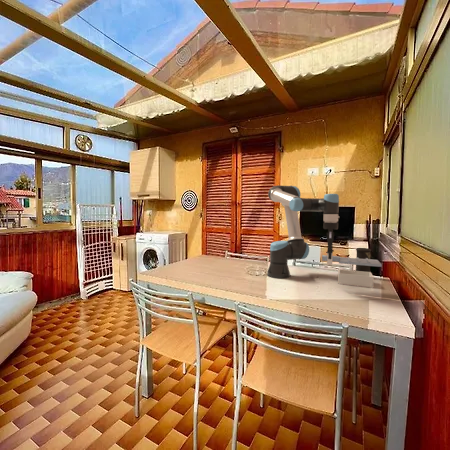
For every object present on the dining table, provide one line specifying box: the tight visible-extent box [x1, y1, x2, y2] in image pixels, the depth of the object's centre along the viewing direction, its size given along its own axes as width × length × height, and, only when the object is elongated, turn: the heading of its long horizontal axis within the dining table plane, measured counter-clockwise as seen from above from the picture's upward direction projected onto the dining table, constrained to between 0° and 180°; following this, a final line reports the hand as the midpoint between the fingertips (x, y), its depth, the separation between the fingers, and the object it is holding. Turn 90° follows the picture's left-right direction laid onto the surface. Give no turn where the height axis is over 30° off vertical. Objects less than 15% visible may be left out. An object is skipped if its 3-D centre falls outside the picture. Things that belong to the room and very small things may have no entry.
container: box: [355, 247, 372, 272], centre depth 164 cm, size 9×9×20 cm
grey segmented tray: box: [321, 254, 383, 268], centre depth 134 cm, size 28×13×2 cm, turn 66°
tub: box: [337, 268, 375, 289], centre depth 149 cm, size 18×12×7 cm, turn 66°
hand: (329, 263), depth 138 cm, fingers closed on grey segmented tray, 4 cm apart
